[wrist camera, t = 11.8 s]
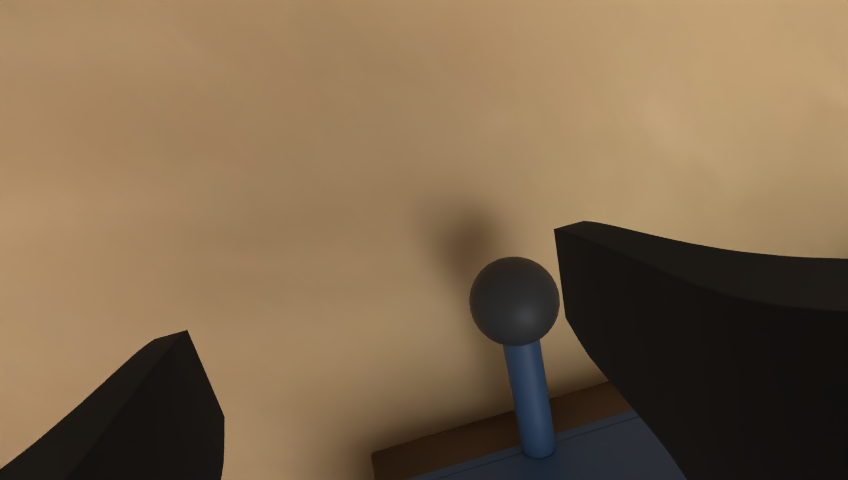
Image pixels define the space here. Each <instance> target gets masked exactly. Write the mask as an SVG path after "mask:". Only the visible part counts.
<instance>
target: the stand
mask: <svg viewBox="0 0 848 480" xmlns="http://www.w3.org/2000/svg"><path fill="white" fill-rule="evenodd" d="M549 403H550V409H551V416H552V422H553V428H554V434H556V433H559V432H562V431H566V430H569V429H572V428H575V427H579V426H582V425H585V424H588V423H592V422H595V421H598V420H601V419H604V418H608V417H611V416H614V415H617V414H621V413H624V412H627V411H630V410H634V409H633V408H632V407H631V406H630V405H629V404H628V402H627V401H626V400H625V399H624V398H623V396H622V395H621V394H620V393H619V392H618V390H617V389H616V388H615V387H614V386H613V385H612V383H611V382H606V383H603V384H600V385H597V386H593V387H590V388H587V389H583V390H580V391H577V392H573V393H570V394H567V395H564V396H560V397H557V398H554V399H550V400H549ZM520 444H521V441H520V436H519V430H518V425H517V419H516V414H515V410H514V411H511V412H507V413H504V414H501V415H498V416H494V417H491V418H488V419H484V420H481V421H478V422H474V423H471V424H468V425H465V426H461V427H458V428H455V429H451V430H448V431H445V432H441V433H438V434H435V435H432V436H428V437H425V438H422V439H418V440H415V441H412V442H408V443H405V444H402V445H399V446H395V447H392V448H389V449H385V450H382V451H379V452H375V453H372V454H371V458H372V464H373V471H374V477H375V480H407V479H410V478H413V477H417V476H420V475H423V474H426V473H430V472H433V471H436V470H439V469H443V468H446V467H449V466H452V465H455V464H459V463H462V462H465V461H468V460H472V459H475V458H478V457H481V456H485V455H488V454H491V453H494V452H498V451H501V450H504V449H507V448H511V447H514V446H517V445H520Z"/></svg>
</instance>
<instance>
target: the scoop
mask: <svg viewBox="0 0 848 480" xmlns="http://www.w3.org/2000/svg"><path fill="white" fill-rule="evenodd" d="M469 303H470V311H471V314H472V317H473V319H474V322H475V323H476V325H477V326H478V328H479V329H480V330H481V332H482V333H483V334H485V335H486V336H487V337H488V338H489V339H491V340H493V341H495V342H497V343H499V344H502V345H503V349H504V355H505V360H506V365H507V371H508V376H509V382H510V387H511V392H512V398H513V403H514V409H515V414H516V419H517V425H518V430H519V436H520V441H521V444H520V445H517V446H514V447H511V448H507V449H504V450H501V451H498V452H494V453H491V454H488V455H485V456H481V457H478V458H475V459H472V460H468V461H465V462H462V463H459V464H455V465H452V466H449V467H446V468H443V469H439V470H436V471H433V472H430V473H426V474H423V475H420V476H417V477H413V478H410V479H407V480H687V479H686V478H685V476H684V475H683V473H682V472H681V470H680V469H679V467H678V466H677V464H676V463H675V461H674V460H673V458H672V457H671V455H670V454H669V453H668V451H667V450H666V449H665V447H664V446H663V445H662V444H661V442H660V441H659V440H658V438H657V437H656V436H655V434H654V433H653V432H652V431H651V430H650V428H649V427H648V426H647V425H646V424H645V423H644V421H643V420H642V419H641V418H640V417H639V415H638V414H637V413H636V412H635V411H634V410H630V411H627V412H624V413H621V414H617V415H614V416H611V417H608V418H604V419H601V420H598V421H595V422H592V423H588V424H585V425H582V426H579V427H575V428H572V429H569V430H566V431H562V432H559V433H556V434H554V428H553V422H552V416H551V409H550V403H549V396H548V390H547V384H546V377H545V371H544V364H543V358H542V351H541V345H540V339H541V338H542V337H543V336H545V335H546V334H547V333H548V332H549V330H550V329H551V328H552V326H553V325H554V323H555V321H556V319H557V316H558V312H559V306H560V299H559V292H558V289H557V286H556V283H555V281H554V280H553V278H552V276H551V275H550V274H549V273H548V271H547V270H546V269H544V268H543V267H542V266H541V265H539V264H538V263H536V262H534V261H532V260H530V259H527V258H522V257H506V258H501V259H498V260H496V261H494V262H492V263H490V264H489V265H487V266H486V267H485V268H484V269H483V270H482V271H481V272H480V273H479V274H478V275H477V277H476V279H475V280H474V282H473V285H472V288H471V291H470V298H469Z"/></svg>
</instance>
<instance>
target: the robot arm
mask: <svg viewBox="0 0 848 480" xmlns="http://www.w3.org/2000/svg"><path fill="white" fill-rule="evenodd" d="M554 233H555V241H556V248H557V256H558V263H559V271H560V278H561V286H562V294H563V301H564V309H565V316H566V319H567V321H568V323H569V324H570V326H571V328H572V329H573V331H574V333H575V334H576V336H577V338H578V340H579V341H580V343H581V344H582V346H583V347H584V349H585V351H586V352H587V354H588V355H589V357H590V358H591V359H592V360H593V362H594V363H595V364H596V365H597V366H598V368H599V369H600V370H601V371H602V372H603V374H604V375H605V376H606V377H607V379H608V380H609V381H610V382H611V383H612V385H613V386H614V387H615V388H616V389H617V390H618V392H619V393H620V394H621V395H622V396H623V398H624V399H625V400H626V401H627V402H628V404H629V405H630V406H631V407H632V408H633V409H634V411H635V412H636V413H637V414H638V415H639V417H640V418H641V419H642V420H643V421H644V423H645V424H646V425H647V426H648V427H649V428H650V430H651V431H652V432H653V433H654V434H655V436H656V437H657V438H658V440H659V441H660V442H661V444H662V445H663V446H664V447H665V449H666V450H667V451H668V453H669V454H670V455H671V457H672V458H673V460H674V461H675V463H676V464H677V466H678V467H679V469H680V470H681V472H682V473H683V475H684V476H685V478H686V479H687V480H848V259H839V258H807V257H790V256H777V255H768V254H758V253H749V252H740V251H733V250H726V249H720V248H714V247H708V246H703V245H697V244H691V243H687V242H682V241H677V240H672V239H668V238H663V237H659V236H654V235H650V234H646V233H642V232H637V231H633V230H629V229H625V228H621V227H616V226H612V225H607V224H602V223H597V222H589V221H582V222H578V223H574V224H571V225H567V226H564V227H560V228H556V229H554ZM223 462H224V415H223V412H222V410H221V408H220V405H219V403H218V401H217V398H216V396H215V394H214V391H213V389H212V387H211V384H210V382H209V380H208V377H207V375H206V373H205V370H204V368H203V365H202V363H201V361H200V358H199V356H198V354H197V351H196V349H195V347H194V344H193V342H192V340H191V337H190V335H189V333H188V330H186V331H182V332H179V333H175V334H171V335H168V336H164V337H160V338H157V339H154V340H152V341H151V342H150V343H148V344H147V345H145V346H144V347H143V348H142V349H140V350H139V351H138V352H137V353H136V354H134V355H133V356H132V357H131V358H130V359H129V360H128V361H127V362H125V363H124V364H123V365H122V366H121V367H120V368H119V369H118V370H117V371H116V372H115V373H113V374H112V375H111V376H110V377H109V378H108V379H107V380H106V381H105V382H104V383H103V384H101V385H100V386H99V387H98V388H97V389H96V390H95V391H94V392H93V393H92V394H91V395H89V396H88V397H87V398H86V399H85V400H84V401H83V402H82V403H81V404H80V405H78V406H77V407H76V408H75V409H74V410H73V411H71V412H70V413H69V414H68V415H67V416H66V417H64V418H63V419H62V420H61V421H60V422H58V423H57V424H56V425H55V426H54V427H53V428H51V429H50V430H49V431H48V432H47V433H46V434H44V435H43V436H42V437H41V438H40V439H39V440H37V441H36V442H35V443H34V444H33V445H31V446H30V447H29V448H28V449H26V450H25V451H24V452H22V453H21V454H20V455H19V456H17V457H16V458H15V459H13V460H12V461H11V462H9V463H8V464H7V465H5V466H4V467H3V468H1V469H0V480H221V476H222V470H223Z"/></svg>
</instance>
